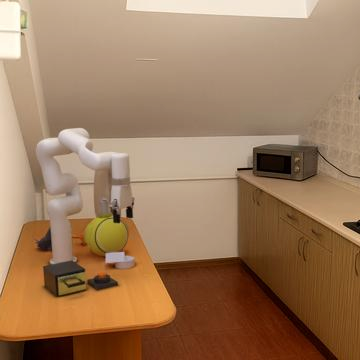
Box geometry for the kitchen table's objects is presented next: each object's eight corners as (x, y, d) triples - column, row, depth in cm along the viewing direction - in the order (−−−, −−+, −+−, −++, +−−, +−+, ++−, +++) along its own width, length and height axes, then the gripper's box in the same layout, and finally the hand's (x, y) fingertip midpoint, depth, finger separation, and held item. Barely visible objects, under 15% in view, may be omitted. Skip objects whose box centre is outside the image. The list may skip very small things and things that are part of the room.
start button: (107, 277, 235) (107, 273, 235) (99, 279, 233) (99, 275, 233) (104, 275, 238) (104, 271, 238) (96, 277, 236) (96, 273, 235)
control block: (117, 285, 234) (117, 277, 234) (97, 290, 229) (97, 282, 228) (106, 278, 243) (106, 271, 242) (87, 283, 238) (86, 275, 237)
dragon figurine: (87, 231, 291) (38, 226, 279) (83, 253, 291) (34, 249, 280) (84, 226, 300) (36, 221, 289) (80, 248, 301) (32, 244, 290)
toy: (77, 253, 280) (73, 195, 275) (116, 246, 293) (114, 190, 288) (95, 265, 262) (91, 203, 256) (136, 256, 274) (134, 197, 269)
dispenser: (86, 289, 230) (85, 268, 229) (56, 296, 223) (55, 275, 221) (73, 280, 242) (72, 260, 240) (44, 286, 234) (42, 266, 233)
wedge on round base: (106, 269, 255) (134, 267, 257) (105, 255, 254) (134, 254, 256) (106, 263, 263) (134, 261, 266) (106, 250, 262) (134, 248, 265)
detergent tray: (91, 292, 225) (90, 275, 223) (63, 299, 218) (62, 281, 217) (74, 280, 239) (73, 264, 238) (47, 286, 232) (46, 269, 231)
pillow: (125, 240, 302) (121, 162, 295) (99, 243, 298) (94, 164, 291) (116, 222, 343) (112, 153, 336) (93, 224, 339) (89, 154, 331)
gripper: (125, 178, 247) (127, 215, 250) (102, 184, 231) (104, 224, 234) (139, 179, 244) (141, 216, 247) (117, 185, 229) (119, 225, 232)
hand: (123, 220), depth 241 cm, fingers open, 9 cm apart
